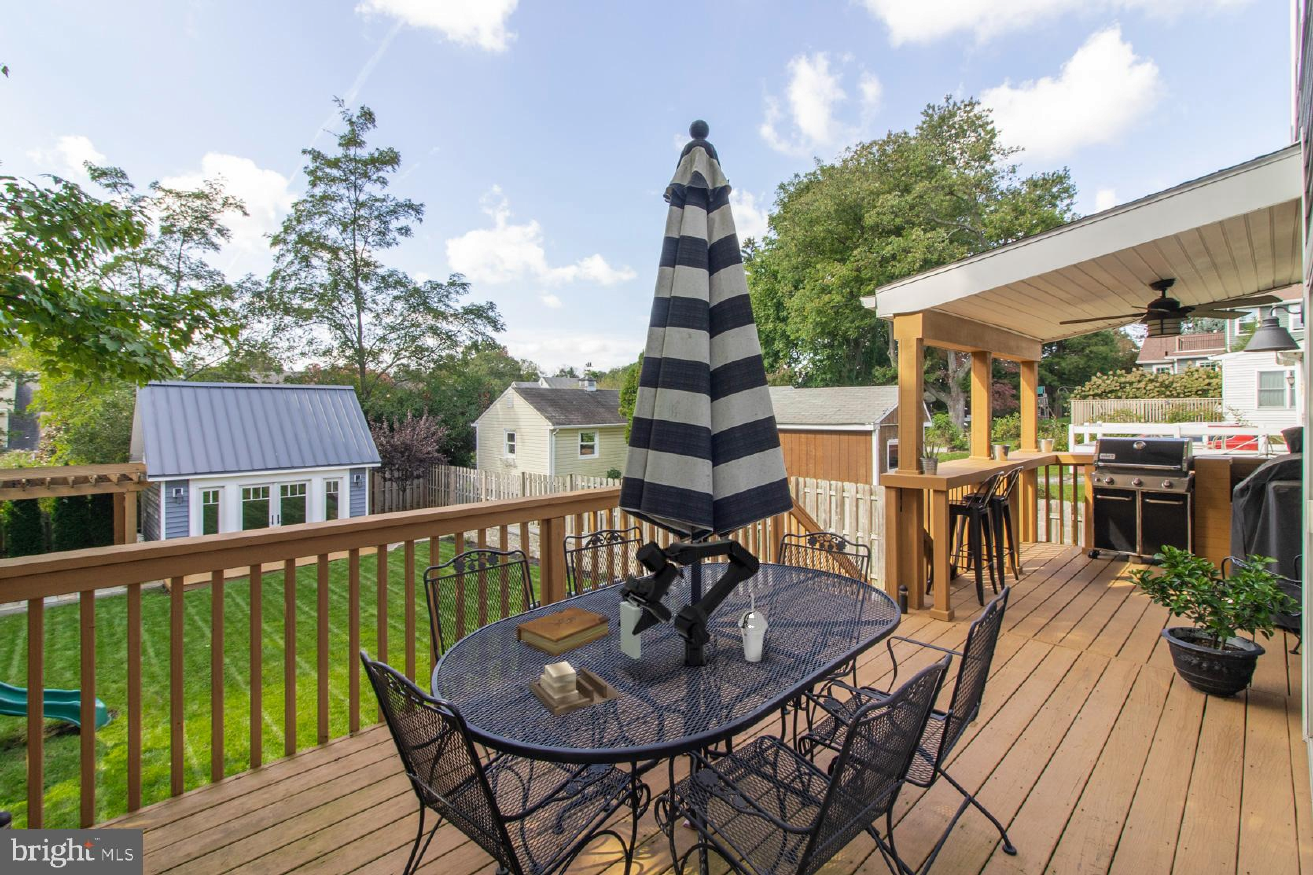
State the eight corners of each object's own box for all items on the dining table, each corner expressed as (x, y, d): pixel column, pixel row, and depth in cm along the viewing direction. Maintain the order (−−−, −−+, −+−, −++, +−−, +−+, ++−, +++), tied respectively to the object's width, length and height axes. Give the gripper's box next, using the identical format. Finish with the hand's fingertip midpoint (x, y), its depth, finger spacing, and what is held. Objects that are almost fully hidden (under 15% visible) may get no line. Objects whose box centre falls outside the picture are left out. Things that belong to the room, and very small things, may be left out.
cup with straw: (773, 658, 168) (773, 589, 167) (755, 667, 162) (755, 596, 161) (749, 650, 174) (749, 583, 173) (730, 659, 168) (730, 590, 167)
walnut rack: (593, 675, 158) (593, 661, 158) (623, 698, 144) (622, 683, 144) (529, 692, 148) (529, 678, 148) (555, 719, 134) (555, 703, 134)
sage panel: (627, 648, 158) (626, 601, 158) (640, 657, 152) (640, 608, 152) (620, 650, 157) (620, 602, 157) (634, 659, 151) (633, 609, 151)
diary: (572, 622, 200) (572, 606, 200) (610, 635, 188) (610, 617, 188) (516, 642, 182) (516, 624, 182) (555, 658, 170) (554, 638, 170)
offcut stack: (564, 686, 149) (563, 659, 149) (579, 701, 142) (579, 671, 141) (539, 693, 145) (539, 665, 145) (554, 708, 138) (554, 678, 138)
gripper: (624, 557, 164) (590, 603, 158) (661, 572, 148) (624, 623, 142) (648, 581, 168) (615, 626, 163) (686, 597, 153) (652, 648, 147)
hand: (625, 630), depth 154 cm, fingers closed on sage panel, 7 cm apart
